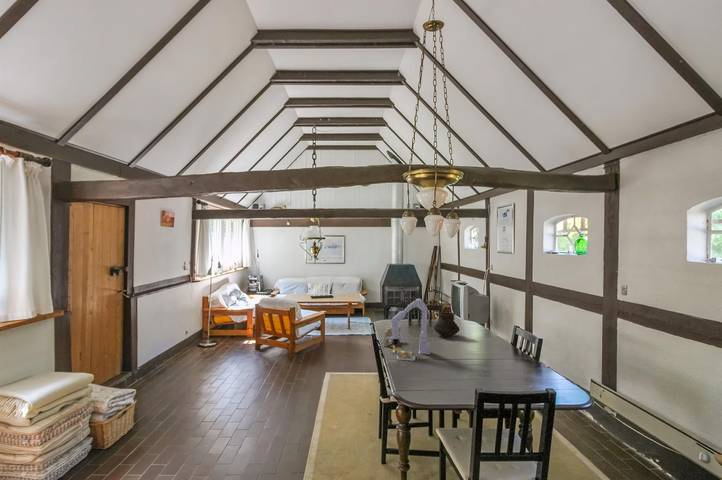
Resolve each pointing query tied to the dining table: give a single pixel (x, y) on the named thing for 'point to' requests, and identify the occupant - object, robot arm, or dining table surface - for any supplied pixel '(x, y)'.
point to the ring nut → (395, 348)
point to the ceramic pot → (446, 325)
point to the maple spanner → (402, 353)
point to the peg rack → (406, 358)
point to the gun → (389, 334)
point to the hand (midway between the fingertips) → (396, 348)
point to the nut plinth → (394, 352)
